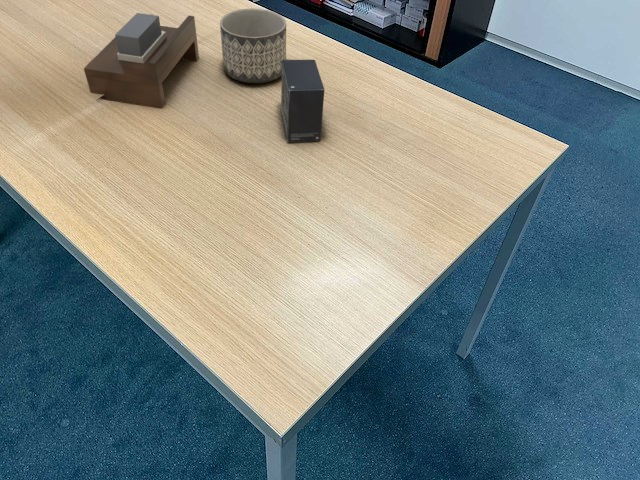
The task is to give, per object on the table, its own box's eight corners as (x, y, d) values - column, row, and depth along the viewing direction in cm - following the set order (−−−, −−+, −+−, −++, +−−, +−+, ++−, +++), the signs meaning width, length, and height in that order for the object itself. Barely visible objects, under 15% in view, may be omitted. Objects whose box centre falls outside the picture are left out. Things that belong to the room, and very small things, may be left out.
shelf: (91, 97, 102) (79, 52, 96) (136, 49, 116) (127, 6, 110) (162, 108, 101) (154, 63, 95) (199, 58, 115) (194, 15, 108)
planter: (211, 74, 110) (206, 24, 103) (250, 51, 118) (248, 2, 111) (260, 95, 106) (258, 44, 99) (297, 69, 114) (299, 20, 106)
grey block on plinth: (143, 63, 100) (139, 38, 97) (118, 59, 101) (112, 35, 97) (166, 37, 108) (162, 13, 104) (142, 33, 108) (138, 9, 105)
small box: (323, 142, 96) (326, 89, 89) (286, 144, 95) (287, 90, 88) (313, 109, 104) (316, 57, 96) (279, 110, 103) (279, 58, 95)
